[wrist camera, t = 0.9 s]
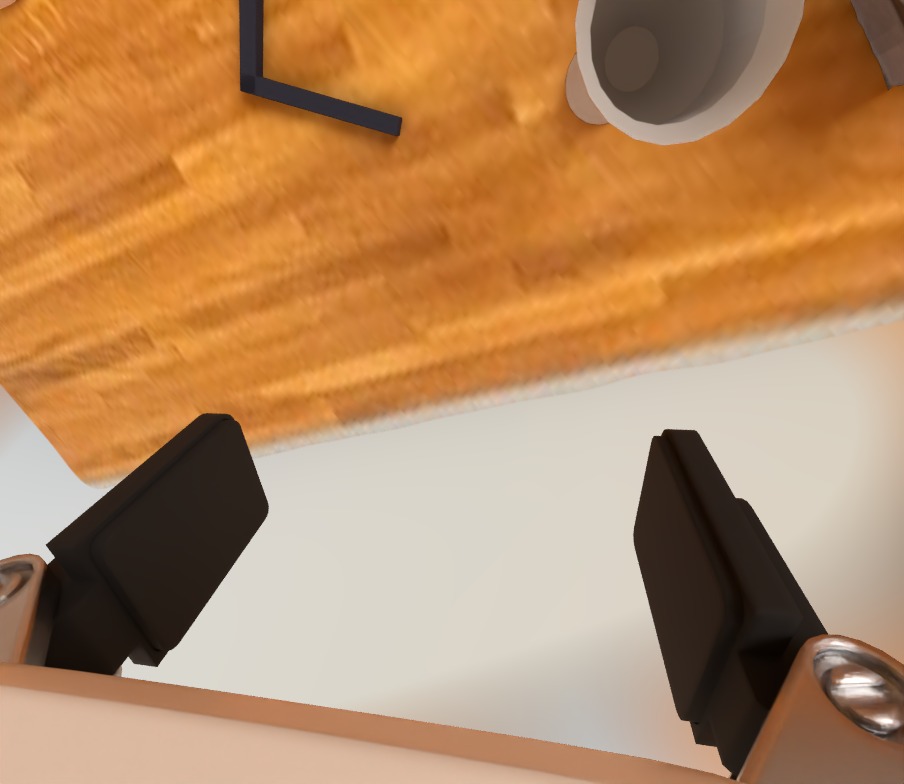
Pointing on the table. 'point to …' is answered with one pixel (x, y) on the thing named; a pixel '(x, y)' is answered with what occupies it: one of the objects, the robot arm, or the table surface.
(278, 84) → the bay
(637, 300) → the table surface
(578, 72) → the chalice
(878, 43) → the bible
